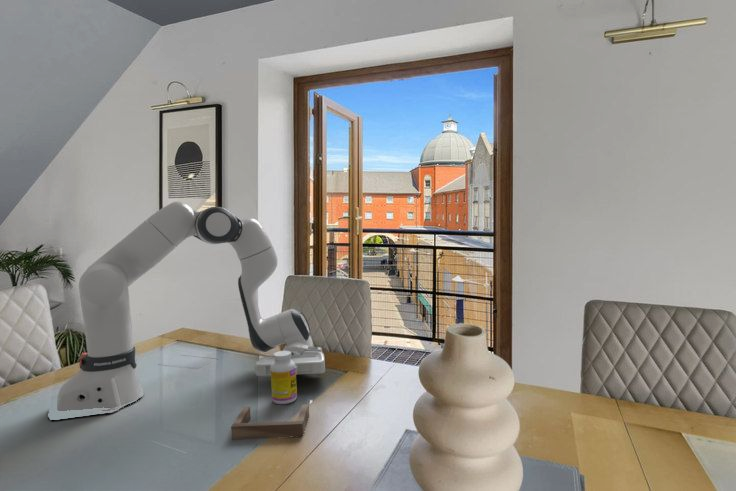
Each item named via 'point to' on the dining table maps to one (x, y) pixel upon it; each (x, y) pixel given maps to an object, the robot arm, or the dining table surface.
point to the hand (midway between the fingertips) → (286, 375)
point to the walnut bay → (268, 426)
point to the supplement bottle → (283, 378)
